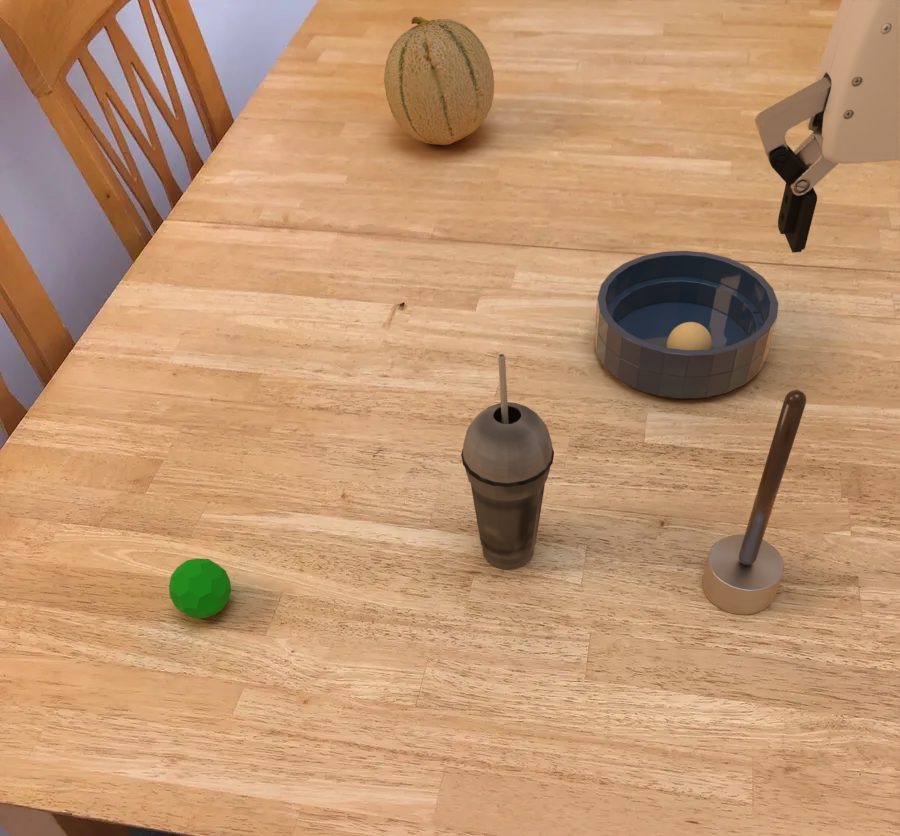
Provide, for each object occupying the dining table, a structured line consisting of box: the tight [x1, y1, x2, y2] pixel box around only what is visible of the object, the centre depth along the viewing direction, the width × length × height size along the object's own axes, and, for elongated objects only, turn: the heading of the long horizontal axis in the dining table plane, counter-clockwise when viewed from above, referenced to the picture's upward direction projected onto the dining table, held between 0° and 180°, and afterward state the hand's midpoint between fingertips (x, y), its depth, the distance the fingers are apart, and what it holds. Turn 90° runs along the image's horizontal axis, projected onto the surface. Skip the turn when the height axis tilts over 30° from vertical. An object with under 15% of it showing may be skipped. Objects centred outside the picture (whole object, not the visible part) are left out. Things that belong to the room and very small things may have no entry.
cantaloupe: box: [383, 16, 495, 146], centre depth 122 cm, size 15×15×15 cm
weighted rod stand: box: [701, 389, 807, 616], centre depth 69 cm, size 6×6×21 cm
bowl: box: [593, 250, 779, 400], centre depth 95 cm, size 18×18×6 cm
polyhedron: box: [168, 557, 232, 619], centre depth 77 cm, size 5×5×5 cm
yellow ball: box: [667, 322, 712, 350], centre depth 93 cm, size 4×4×4 cm
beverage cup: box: [460, 353, 555, 571], centre depth 73 cm, size 7×7×20 cm
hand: (866, 235), depth 62 cm, fingers open, 9 cm apart
